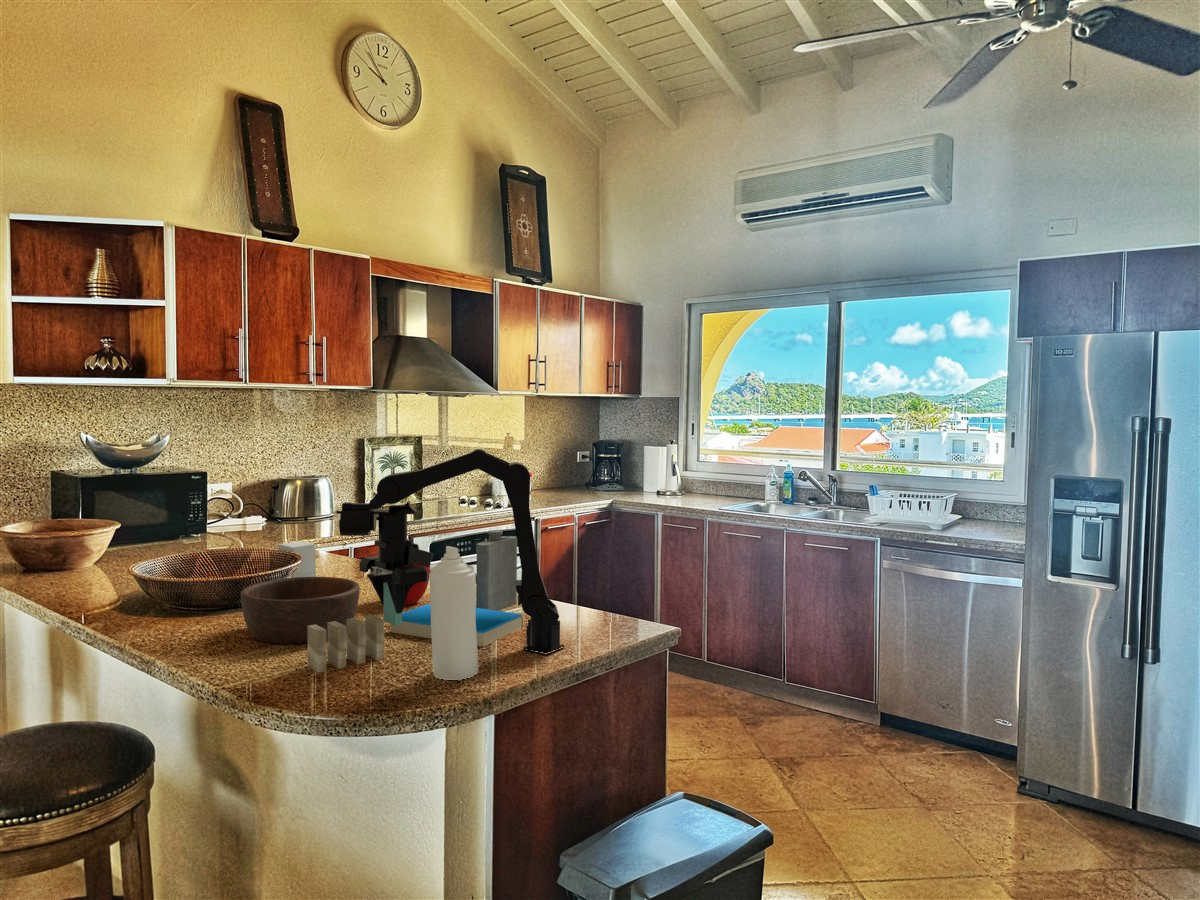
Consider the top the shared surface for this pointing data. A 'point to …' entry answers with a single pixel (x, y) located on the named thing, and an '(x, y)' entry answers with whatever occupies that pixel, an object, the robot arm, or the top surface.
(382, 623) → the domino
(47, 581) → the top surface
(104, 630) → the top surface
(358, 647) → the domino
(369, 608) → the top surface
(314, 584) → the wooden bowl
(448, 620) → the spray can
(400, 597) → the robot arm
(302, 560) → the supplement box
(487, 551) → the hip flask
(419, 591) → the ceramic cup
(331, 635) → the domino
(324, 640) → the domino
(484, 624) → the book
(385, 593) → the teal domino
